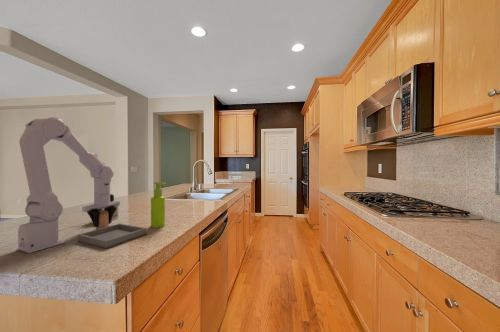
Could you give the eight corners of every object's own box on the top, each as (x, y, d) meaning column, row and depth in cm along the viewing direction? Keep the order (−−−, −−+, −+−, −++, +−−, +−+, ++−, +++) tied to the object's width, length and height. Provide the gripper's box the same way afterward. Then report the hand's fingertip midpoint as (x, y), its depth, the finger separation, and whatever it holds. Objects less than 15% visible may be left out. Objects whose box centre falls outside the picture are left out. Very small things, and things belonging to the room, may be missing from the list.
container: (108, 222, 103) (108, 195, 103) (92, 222, 103) (92, 195, 103) (118, 218, 111) (118, 193, 110) (104, 218, 111) (104, 193, 111)
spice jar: (100, 231, 90) (100, 212, 89) (93, 229, 91) (93, 211, 91) (111, 228, 94) (111, 210, 94) (104, 226, 96) (104, 209, 95)
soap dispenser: (161, 227, 95) (161, 182, 94) (147, 226, 96) (147, 182, 96) (169, 224, 100) (169, 181, 100) (156, 223, 102) (156, 181, 102)
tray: (106, 248, 71) (106, 241, 71) (77, 241, 78) (77, 234, 78) (146, 234, 86) (146, 228, 86) (119, 229, 93) (119, 223, 92)
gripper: (112, 191, 101) (112, 219, 101) (77, 195, 87) (77, 228, 87) (122, 192, 98) (122, 221, 98) (88, 196, 84) (88, 230, 85)
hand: (102, 225), depth 93 cm, fingers closed on spice jar, 5 cm apart
